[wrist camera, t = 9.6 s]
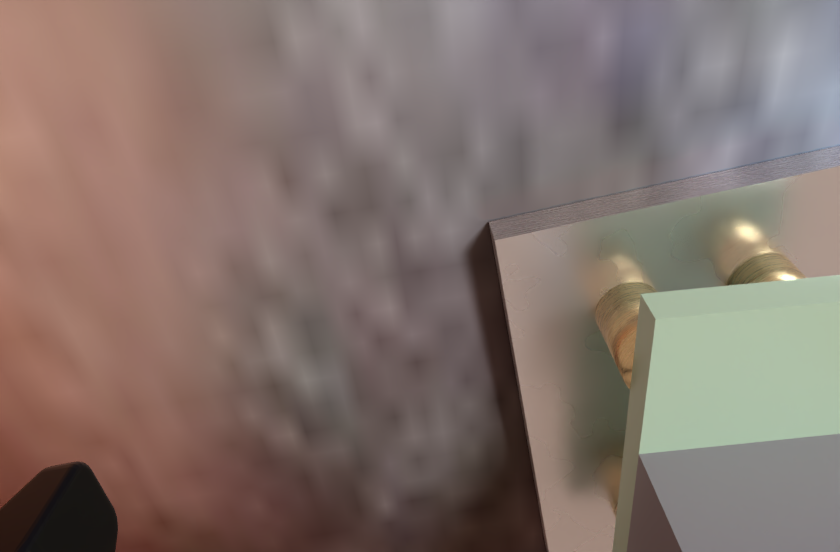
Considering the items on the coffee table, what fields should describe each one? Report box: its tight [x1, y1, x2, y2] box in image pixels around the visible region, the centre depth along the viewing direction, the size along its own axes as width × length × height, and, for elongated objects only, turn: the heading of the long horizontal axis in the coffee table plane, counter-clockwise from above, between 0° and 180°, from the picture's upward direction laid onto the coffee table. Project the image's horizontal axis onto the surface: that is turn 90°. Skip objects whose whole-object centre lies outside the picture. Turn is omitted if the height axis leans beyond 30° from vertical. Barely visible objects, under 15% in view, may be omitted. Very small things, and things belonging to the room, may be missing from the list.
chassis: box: [489, 146, 840, 552], centre depth 22 cm, size 14×10×4 cm
